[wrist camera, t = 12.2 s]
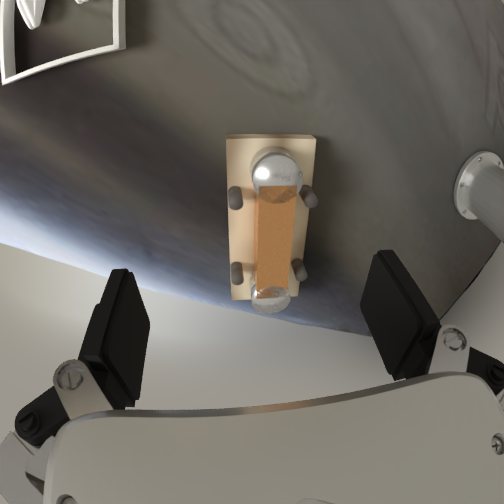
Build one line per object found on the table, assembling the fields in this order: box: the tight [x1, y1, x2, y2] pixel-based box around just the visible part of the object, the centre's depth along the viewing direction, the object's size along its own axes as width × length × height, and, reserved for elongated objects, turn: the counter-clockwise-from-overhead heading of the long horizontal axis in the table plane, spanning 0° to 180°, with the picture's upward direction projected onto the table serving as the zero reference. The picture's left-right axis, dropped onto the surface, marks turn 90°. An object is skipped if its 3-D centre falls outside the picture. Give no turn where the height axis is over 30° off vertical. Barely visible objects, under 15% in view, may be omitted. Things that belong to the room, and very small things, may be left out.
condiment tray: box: [0, 0, 126, 85], centre depth 19 cm, size 16×17×2 cm
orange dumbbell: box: [249, 146, 303, 314], centre depth 37 cm, size 5×22×4 cm, turn 0°
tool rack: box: [226, 134, 318, 300], centre depth 39 cm, size 10×24×5 cm, turn 179°
